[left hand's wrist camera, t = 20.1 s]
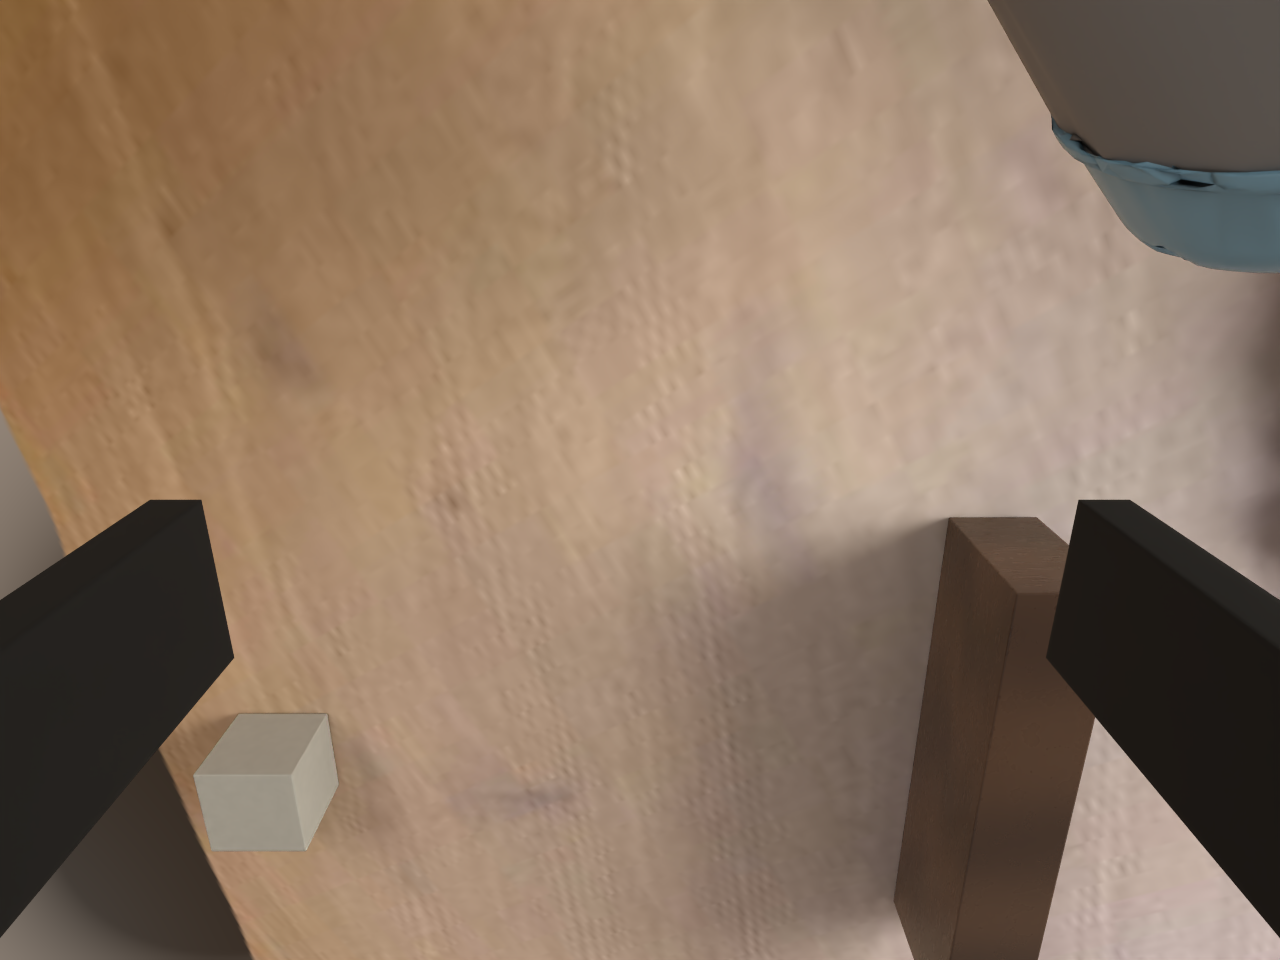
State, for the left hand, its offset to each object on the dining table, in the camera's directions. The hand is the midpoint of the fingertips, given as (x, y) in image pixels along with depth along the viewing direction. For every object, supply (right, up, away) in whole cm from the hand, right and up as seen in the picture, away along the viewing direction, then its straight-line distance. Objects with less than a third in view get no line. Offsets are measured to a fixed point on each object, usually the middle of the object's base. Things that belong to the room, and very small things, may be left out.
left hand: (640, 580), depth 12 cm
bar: (+18, -12, +33) cm, 40 cm away
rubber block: (-20, -14, +34) cm, 42 cm away
